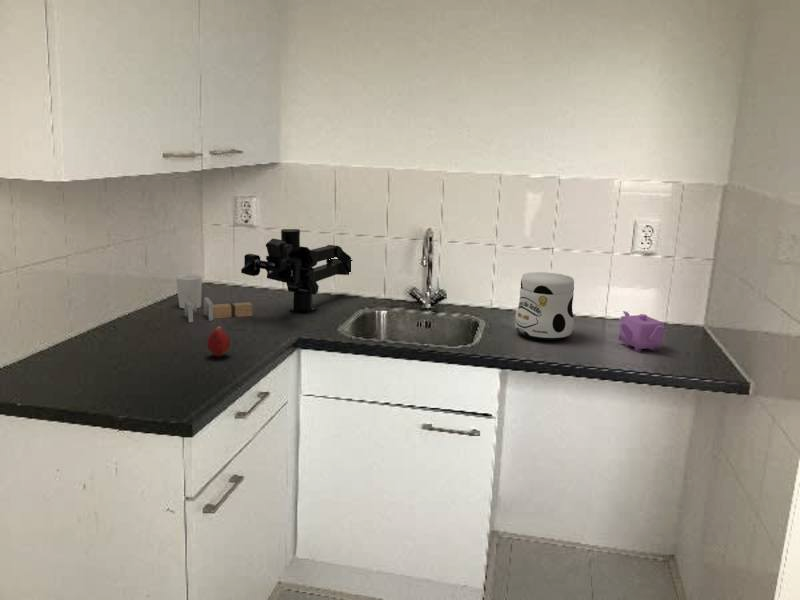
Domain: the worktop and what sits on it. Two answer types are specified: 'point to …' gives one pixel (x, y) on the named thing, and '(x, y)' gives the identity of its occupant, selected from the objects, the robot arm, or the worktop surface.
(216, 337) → the onion
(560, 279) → the milk container
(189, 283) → the white cup
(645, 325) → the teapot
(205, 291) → the worktop surface
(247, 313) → the taped cardboard box
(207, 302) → the gray bracket rail
